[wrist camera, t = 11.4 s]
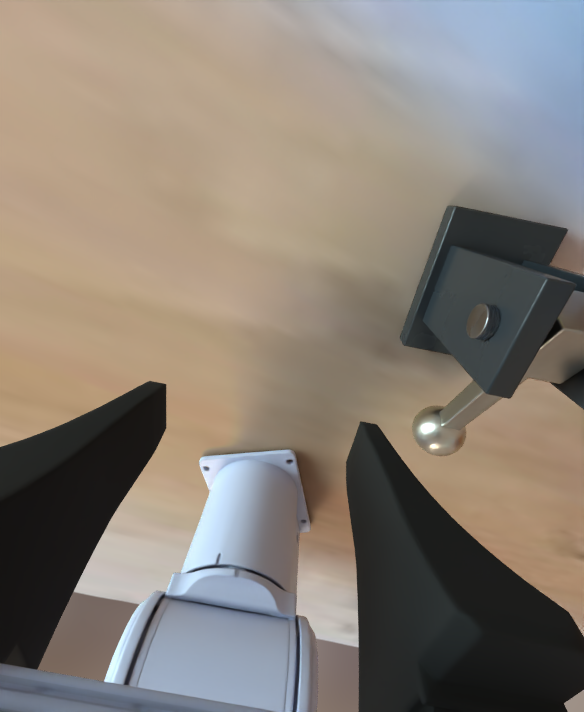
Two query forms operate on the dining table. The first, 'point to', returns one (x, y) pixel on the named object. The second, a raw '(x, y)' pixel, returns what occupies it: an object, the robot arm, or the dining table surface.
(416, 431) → the tap lever
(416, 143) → the dining table surface
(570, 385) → the dark grey lever bracket
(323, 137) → the dining table surface
